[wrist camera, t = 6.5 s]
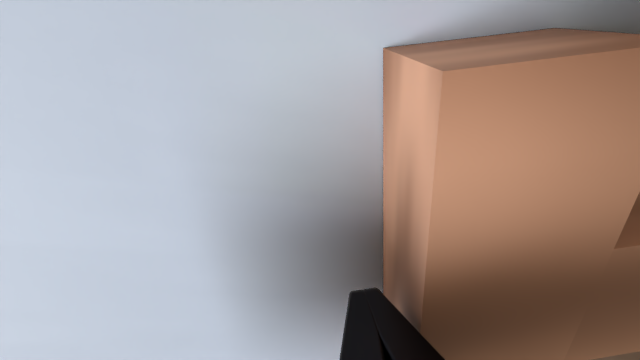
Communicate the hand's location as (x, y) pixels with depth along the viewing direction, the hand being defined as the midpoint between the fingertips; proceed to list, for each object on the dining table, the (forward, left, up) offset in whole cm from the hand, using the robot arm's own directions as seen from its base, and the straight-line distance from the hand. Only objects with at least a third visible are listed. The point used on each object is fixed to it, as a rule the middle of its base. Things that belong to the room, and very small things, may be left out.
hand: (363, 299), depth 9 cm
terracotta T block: (0, -7, -2) cm, 7 cm away
